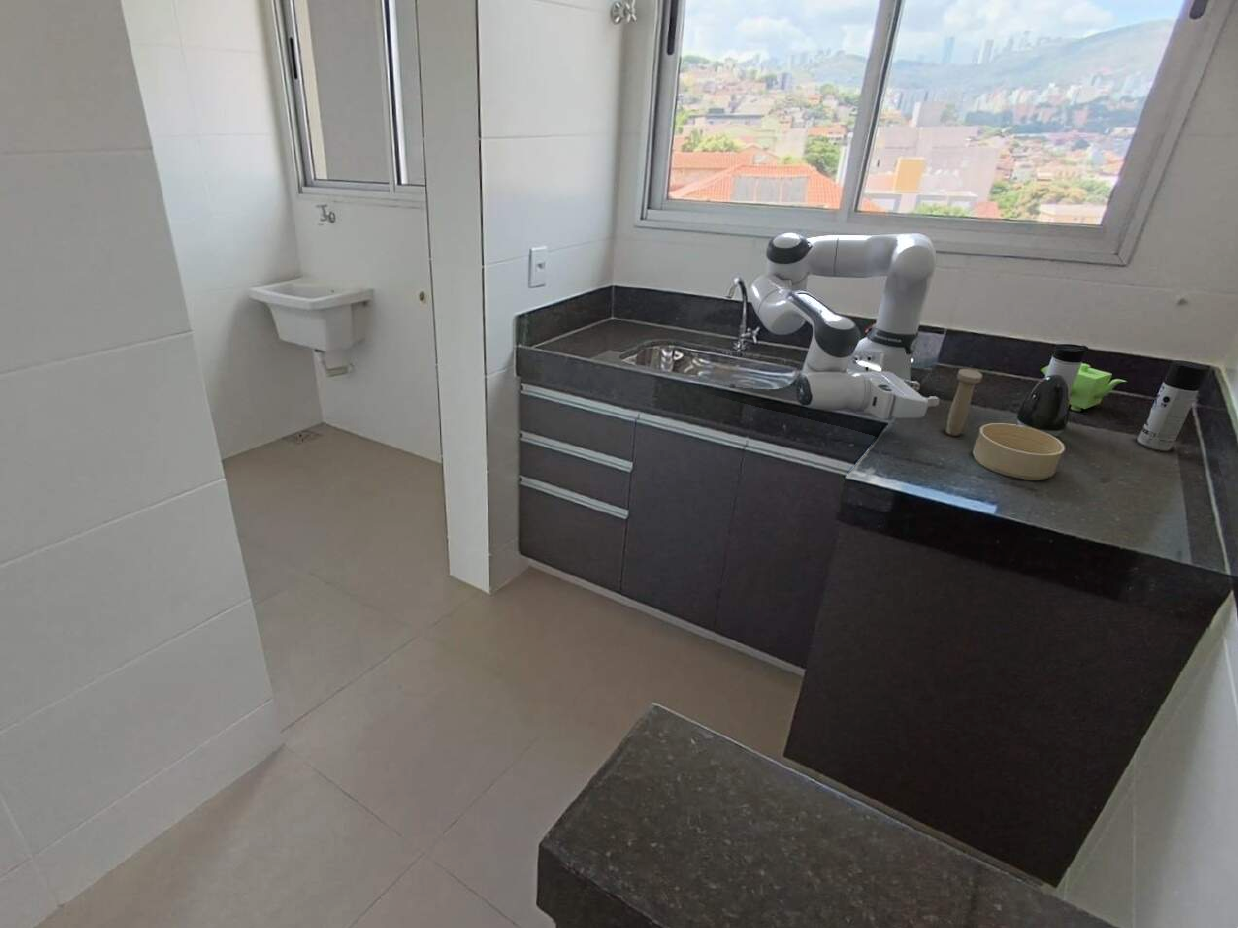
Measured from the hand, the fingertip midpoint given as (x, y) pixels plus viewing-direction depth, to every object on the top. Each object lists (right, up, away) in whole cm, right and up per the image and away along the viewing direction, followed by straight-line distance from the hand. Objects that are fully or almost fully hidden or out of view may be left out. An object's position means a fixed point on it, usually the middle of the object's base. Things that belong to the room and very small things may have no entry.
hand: (927, 393), depth 155 cm
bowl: (+15, -16, -8) cm, 23 cm away
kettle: (+50, 0, +27) cm, 57 cm away
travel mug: (+36, -6, +14) cm, 39 cm away
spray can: (+56, -12, +5) cm, 57 cm away
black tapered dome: (+29, -10, +7) cm, 31 cm away
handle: (+8, -9, +5) cm, 13 cm away
